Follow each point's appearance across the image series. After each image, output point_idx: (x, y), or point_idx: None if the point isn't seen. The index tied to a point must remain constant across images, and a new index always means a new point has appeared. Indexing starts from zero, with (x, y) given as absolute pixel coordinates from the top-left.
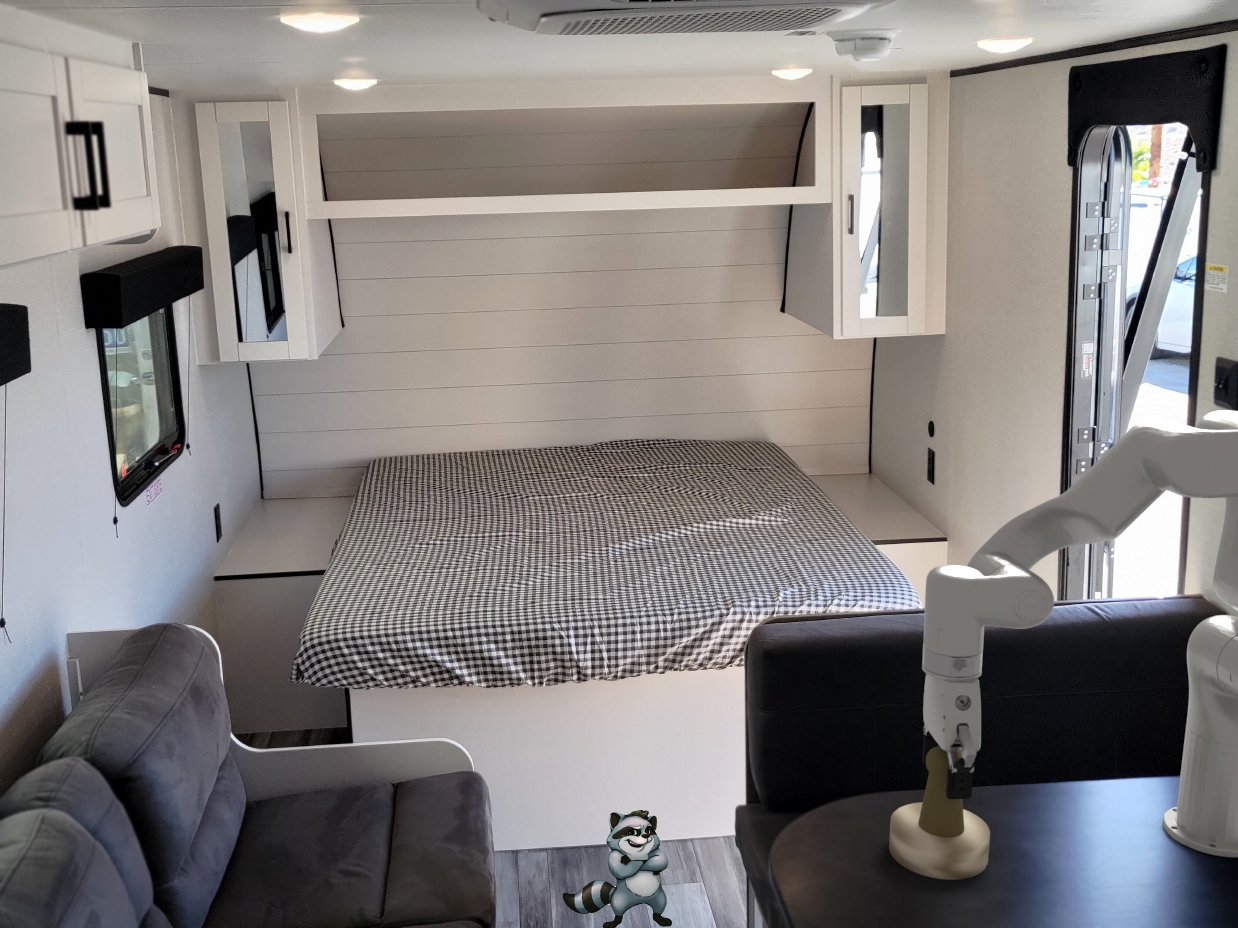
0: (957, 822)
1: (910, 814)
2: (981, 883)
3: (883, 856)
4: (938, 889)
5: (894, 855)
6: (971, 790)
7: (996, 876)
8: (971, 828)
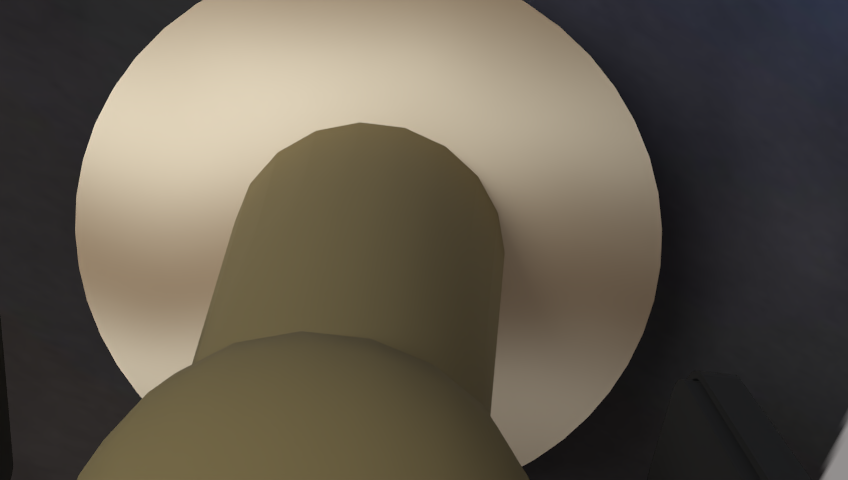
0: (495, 248)
1: None
2: (678, 126)
3: None
4: (664, 334)
5: None
6: (760, 412)
7: (643, 18)
8: (430, 89)
